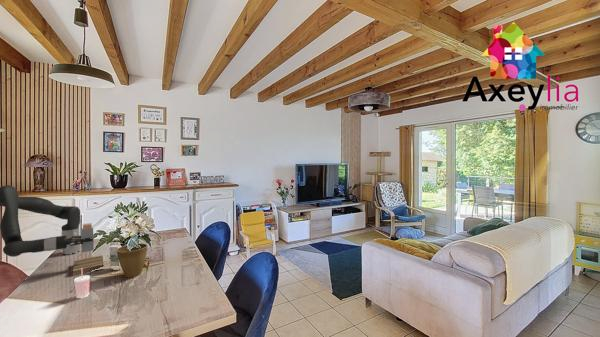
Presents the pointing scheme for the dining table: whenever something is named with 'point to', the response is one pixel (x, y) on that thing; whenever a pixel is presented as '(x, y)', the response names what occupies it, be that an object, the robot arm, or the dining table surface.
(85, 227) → the block
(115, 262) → the syrup box
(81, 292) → the beverage cup
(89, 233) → the grey open box
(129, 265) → the plant pot
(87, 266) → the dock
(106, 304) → the dining table surface
